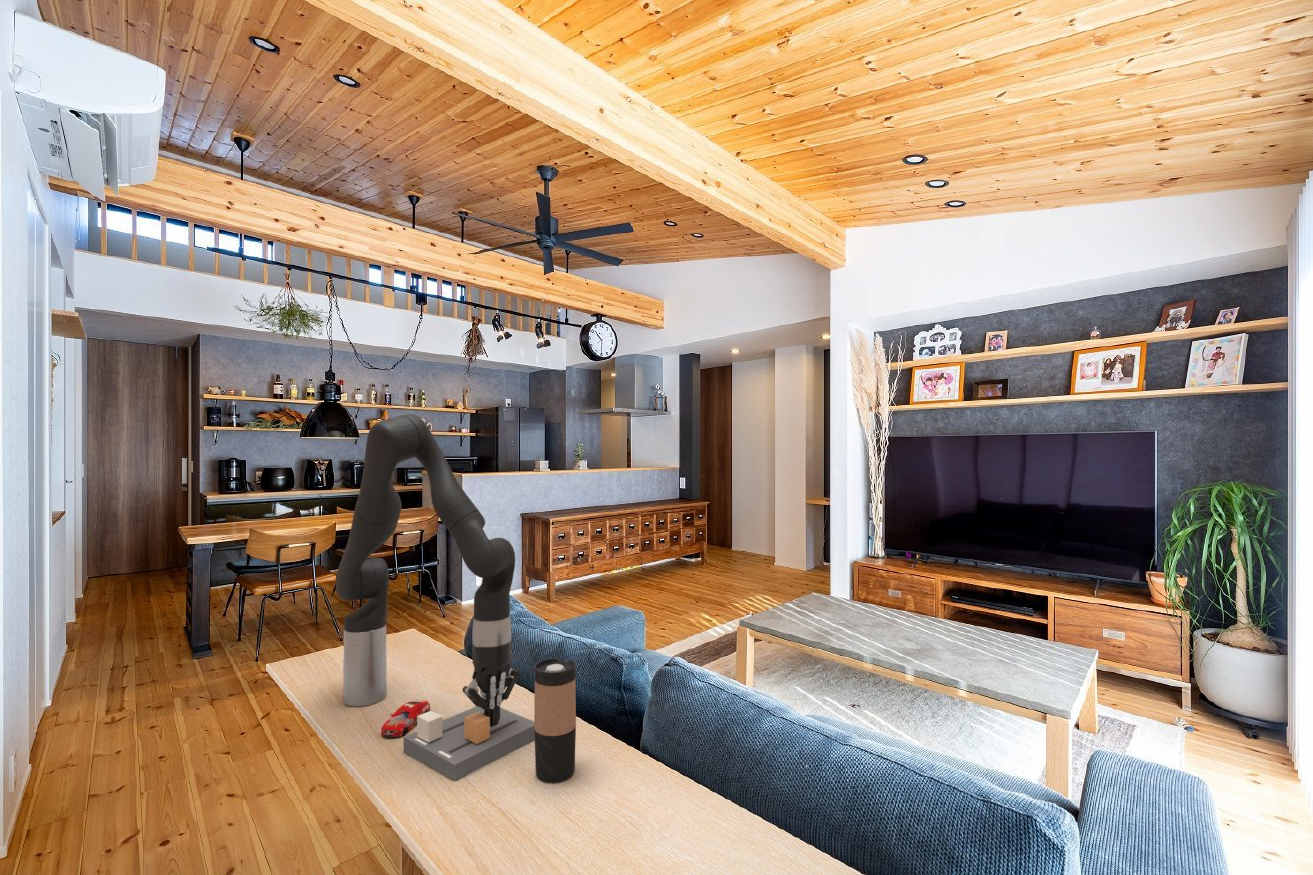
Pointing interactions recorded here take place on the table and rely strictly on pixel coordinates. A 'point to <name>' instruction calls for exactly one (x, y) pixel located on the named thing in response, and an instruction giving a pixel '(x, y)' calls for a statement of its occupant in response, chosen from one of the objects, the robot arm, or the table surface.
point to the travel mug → (555, 720)
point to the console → (469, 744)
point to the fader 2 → (477, 727)
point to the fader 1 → (429, 726)
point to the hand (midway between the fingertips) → (492, 724)
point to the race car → (404, 718)
